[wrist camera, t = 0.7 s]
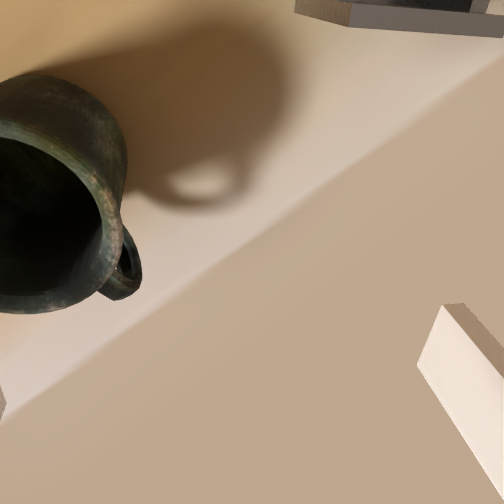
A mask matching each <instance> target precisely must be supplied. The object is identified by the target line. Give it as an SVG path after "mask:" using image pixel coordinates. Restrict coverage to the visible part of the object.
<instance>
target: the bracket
mask: <svg viewBox="0 0 504 504" xmlns="http://www.w3.org/2000/svg"><path fill="white" fill-rule="evenodd" d="M489 1H490V0H296V3H295V12H294V13H297V14H301V15H305V16H309V17H312V18H316V19H320V20H324V21H327V22H331V23H335V24H339V25H342V26H346V27H354V28H368V29H382V30H396V31H410V32H424V33H438V34H452V35H466V36H480V37H495V38H503V35H504V16H503V15H494V14H485V13H486V10H487V7H488V4H489Z"/></svg>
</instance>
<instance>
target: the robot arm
mask: <svg viewBox="0 0 504 504" xmlns="http://www.w3.org/2000/svg"><path fill="white" fill-rule="evenodd" d="M417 367H418V368H419V370H420V371H421V373H422V374H423V376H424V377H425V379H426V380H427V382H428V384H429V385H430V387H431V388H432V390H433V391H434V393H435V394H436V396H437V397H438V399H439V401H440V402H441V404H442V405H443V407H444V408H445V410H446V411H447V413H448V415H449V416H450V418H451V419H452V421H453V422H454V424H455V425H456V427H457V429H458V430H459V432H460V433H461V435H462V436H463V438H464V440H465V441H466V443H467V444H468V446H469V447H470V449H471V450H472V452H473V454H474V455H475V457H476V458H477V460H478V461H479V463H480V464H481V466H482V467H483V469H484V471H485V472H486V474H487V475H488V477H489V478H490V480H491V481H492V483H493V485H494V486H495V488H496V489H497V491H498V492H499V494H500V495H501V497H502V499H503V500H504V348H503V346H501V344H500V343H499V342H498V341H497V340H496V339H495V338H494V337H493V335H492V334H491V333H490V332H489V331H488V330H487V329H486V328H485V327H484V326H483V324H482V323H481V322H480V321H479V320H478V319H477V318H476V316H475V315H474V314H473V313H472V312H471V311H470V310H469V309H468V308H467V306H466V305H465V304H464V303H460V304H445V305H442V306H441V308H440V311H439V313H438V316H437V318H436V320H435V323H434V325H433V328H432V330H431V332H430V335H429V337H428V340H427V342H426V345H425V347H424V349H423V352H422V354H421V356H420V359H419V361H418V364H417ZM5 406H6V401H5V398H4V395H3V392H2V390H1V387H0V420H1V418H2V415H3V412H4V409H5Z"/></svg>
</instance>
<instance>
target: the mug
mask: <svg viewBox="0 0 504 504" xmlns="http://www.w3.org/2000/svg"><path fill="white" fill-rule="evenodd" d="M127 163H128V162H127V149H126V145H125V141H124V138H123V135H122V133H121V130H120V128H119V127H118V125H117V123H116V121H115V120H114V118H113V117H112V116H111V114H110V113H109V112H108V110H107V109H106V108H105V107H104V106H103V105H102V104H101V103H100V102H99V101H98V100H97V99H95V98H94V97H93V96H91V95H90V94H89V93H87V92H86V91H84V90H82V89H81V88H79V87H77V86H75V85H73V84H71V83H68V82H66V81H64V80H61V79H57V78H53V77H49V76H40V75H27V76H19V77H14V78H10V79H8V80H5V81H3V82H1V83H0V313H10V314H39V313H47V312H52V311H56V310H60V309H64V308H67V307H69V306H72V305H74V304H77V303H79V302H81V301H83V300H84V299H86V298H88V297H89V296H91V295H92V294H93V293H95V292H96V291H98V292H99V293H101V294H103V295H104V296H106V297H108V298H109V299H111V300H113V301H115V300H121V299H124V298H126V297H128V296H130V295H132V294H133V293H134V292H135V291H137V290H138V289H139V287H140V284H141V281H142V268H141V261H140V257H139V254H138V250H137V247H136V245H135V243H134V241H133V238H132V237H131V235H130V234H129V232H128V230H127V229H126V228H125V226H124V225H123V223H122V219H121V215H120V207H121V201H122V195H123V189H124V183H125V177H126V171H127ZM115 268H117V270H116V269H115Z"/></svg>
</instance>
